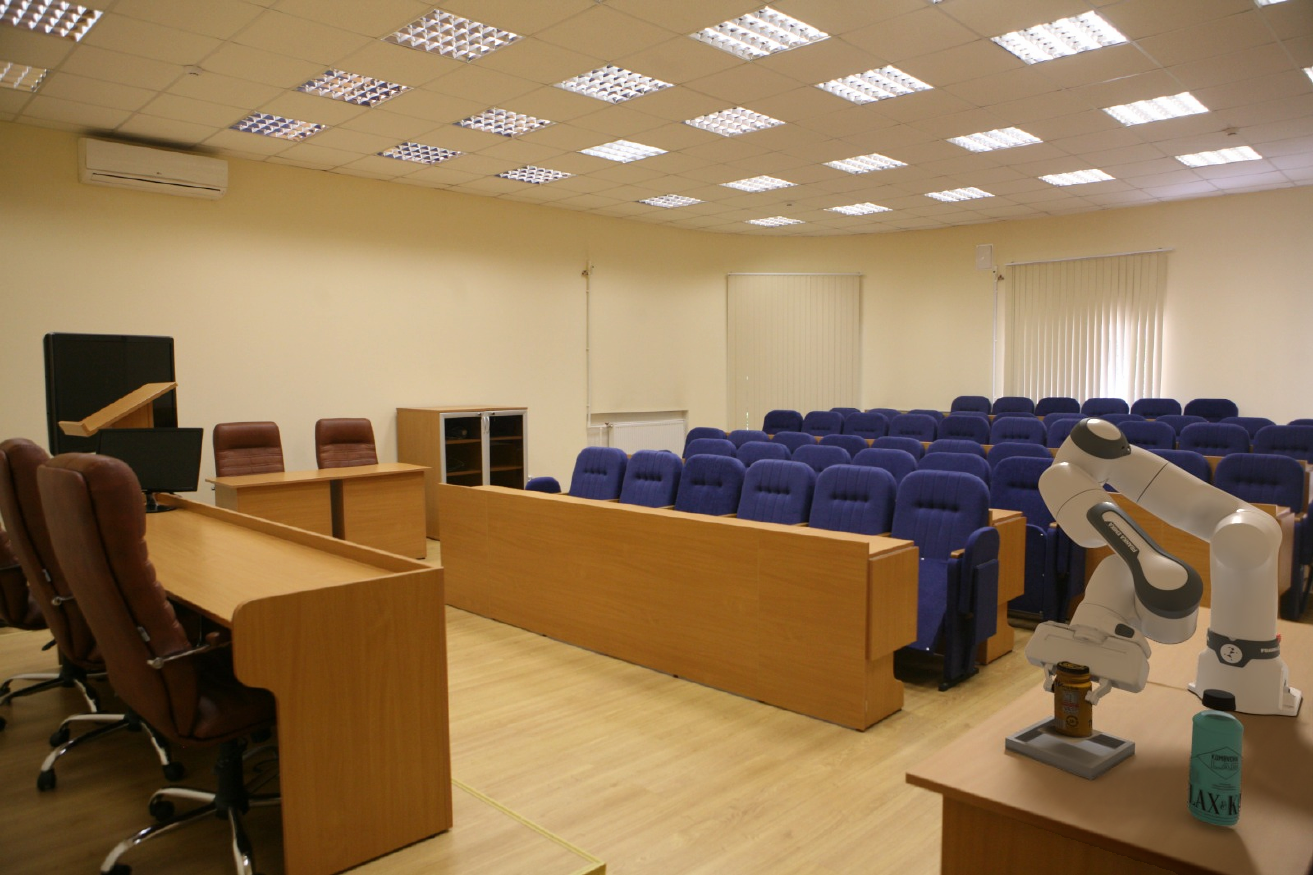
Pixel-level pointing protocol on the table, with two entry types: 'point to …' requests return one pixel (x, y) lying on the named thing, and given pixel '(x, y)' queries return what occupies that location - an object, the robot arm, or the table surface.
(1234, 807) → the beverage bottle
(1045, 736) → the tray
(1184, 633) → the robot arm
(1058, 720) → the condiment
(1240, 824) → the table surface
